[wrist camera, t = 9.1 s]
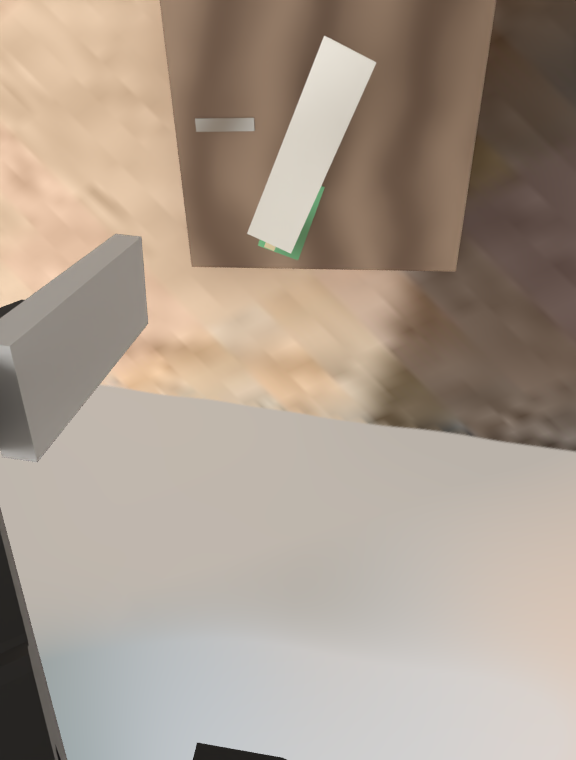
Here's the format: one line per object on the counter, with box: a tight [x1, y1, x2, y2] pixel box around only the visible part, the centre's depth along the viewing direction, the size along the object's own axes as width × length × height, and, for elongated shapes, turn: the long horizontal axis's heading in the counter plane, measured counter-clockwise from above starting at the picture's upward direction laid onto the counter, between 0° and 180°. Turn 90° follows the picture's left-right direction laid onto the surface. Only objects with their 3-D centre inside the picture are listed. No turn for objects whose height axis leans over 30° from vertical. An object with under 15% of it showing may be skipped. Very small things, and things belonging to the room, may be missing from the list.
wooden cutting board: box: [160, 0, 496, 271], centre depth 36 cm, size 20×20×2 cm
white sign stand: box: [247, 36, 376, 253], centre depth 31 cm, size 14×2×12 cm, turn 157°
